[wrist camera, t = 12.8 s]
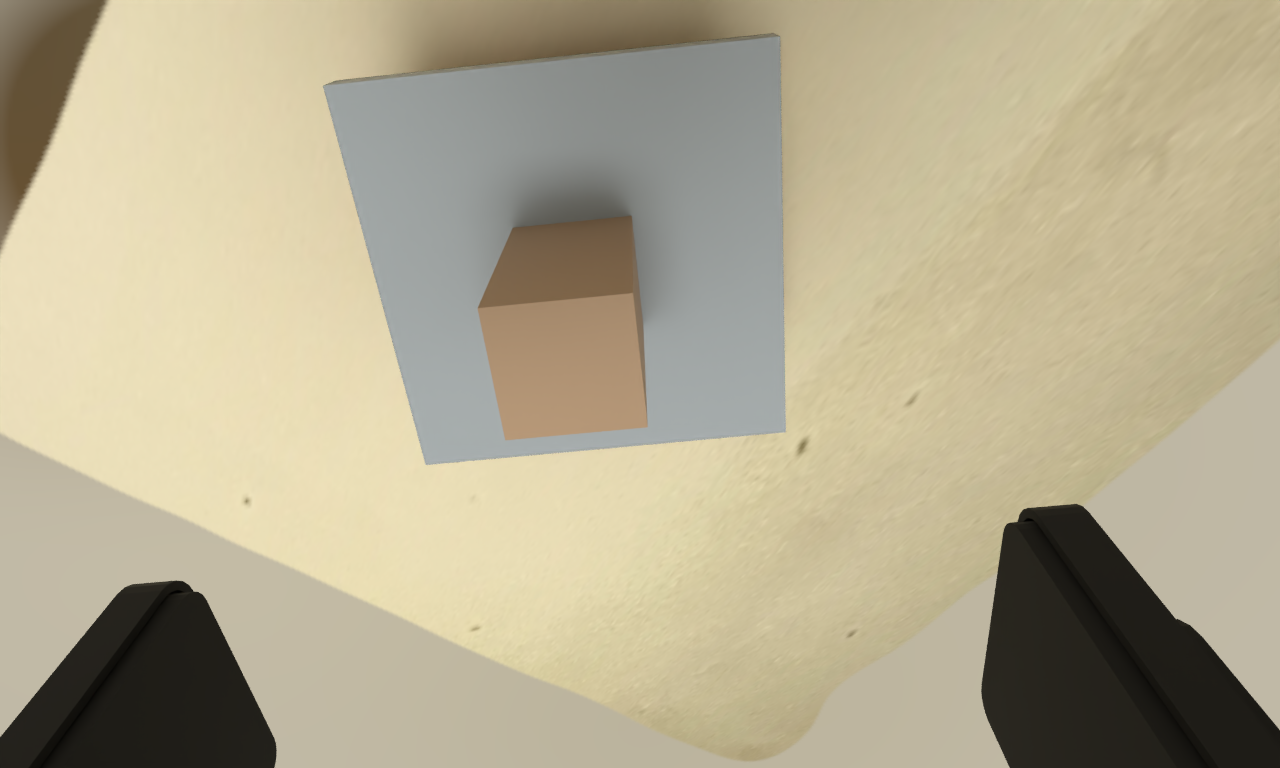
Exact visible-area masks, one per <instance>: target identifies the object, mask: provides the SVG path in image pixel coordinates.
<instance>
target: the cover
mask: <svg viewBox="0 0 1280 768" xmlns="http://www.w3.org/2000/svg"><path fill="white" fill-rule="evenodd" d="M323 88H324V91H325V95H326V99H327V102H328V106H329V110H330V113H331V117H332V121H333V125H334V128H335V132H336V136H337V139H338V143H339V147H340V150H341V154H342V158H343V161H344V165H345V169H346V172H347V176H348V180H349V183H350V187H351V191H352V195H353V198H354V202H355V206H356V209H357V213H358V217H359V220H360V224H361V228H362V231H363V235H364V239H365V242H366V246H367V250H368V253H369V257H370V261H371V265H372V268H373V272H374V276H375V279H376V283H377V287H378V290H379V294H380V298H381V301H382V305H383V309H384V312H385V316H386V320H387V324H388V327H389V331H390V335H391V338H392V342H393V346H394V349H395V353H396V357H397V360H398V364H399V368H400V371H401V375H402V379H403V382H404V386H405V390H406V394H407V397H408V401H409V405H410V408H411V412H412V416H413V419H414V423H415V427H416V430H417V434H418V438H419V441H420V445H421V449H422V453H423V456H424V460H425V464H426V465H430V464H441V463H452V462H463V461H474V460H485V459H496V458H507V457H518V456H529V455H540V454H551V453H562V452H573V451H584V450H595V449H606V448H617V447H628V446H639V445H650V444H661V443H672V442H683V441H694V440H705V439H716V438H727V437H738V436H749V435H760V434H771V433H782V432H786V423H785V351H784V279H783V208H782V136H781V64H780V36H778V35H776V34H774V33H771V34H762V35H753V36H744V37H735V38H725V39H716V40H707V41H698V42H688V43H679V44H670V45H661V46H651V47H642V48H633V49H624V50H614V51H605V52H596V53H587V54H577V55H568V56H559V57H550V58H540V59H531V60H522V61H513V62H504V63H494V64H485V65H476V66H467V67H457V68H448V69H439V70H430V71H420V72H411V73H402V74H393V75H383V76H374V77H365V78H356V79H346V80H337V81H334V82H331V83H329V84H326V85H324V86H323Z"/></svg>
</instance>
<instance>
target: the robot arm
mask: <svg viewBox="0 0 1280 768" xmlns="http://www.w3.org/2000/svg"><path fill="white" fill-rule="evenodd" d="M982 700H983V706H984V709H985V713H986V716H987V719H988V721H989V723H990V726H991V728H992V730H993V732H994V734H995V736H996V739H997V741H998V743H999V745H1000V747H1001V749H1002V752H1003V754H1004V756H1005V758H1006V760H1007V763H1008V765H1009V767H1010V768H1280V730H1279V729H1278V728H1277V726H1276V725H1275V724H1274V723H1273V721H1272V720H1271V719H1270V718H1269V717H1268V715H1267V714H1266V713H1265V712H1264V711H1263V709H1262V708H1261V707H1260V706H1259V705H1258V703H1257V702H1256V701H1255V700H1254V699H1253V697H1252V696H1251V695H1250V694H1249V693H1248V691H1247V690H1246V689H1245V688H1244V687H1243V685H1242V684H1241V683H1240V682H1239V681H1238V679H1237V678H1236V677H1235V676H1234V675H1233V674H1232V672H1231V671H1230V670H1229V668H1228V667H1227V666H1226V665H1225V664H1224V662H1223V661H1222V660H1221V659H1220V658H1219V656H1218V655H1217V654H1216V653H1215V652H1214V650H1213V649H1212V648H1211V647H1210V646H1209V645H1208V643H1207V642H1206V641H1205V640H1204V638H1203V637H1202V636H1200V634H1199V633H1198V632H1196V631H1195V630H1194V629H1193V628H1192V627H1191V626H1190V625H1188V624H1186V623H1184V622H1182V621H1180V620H1178V619H1175V618H1174V616H1173V615H1172V614H1171V613H1170V611H1169V610H1168V609H1167V608H1166V607H1165V605H1164V604H1163V603H1162V602H1161V600H1160V599H1159V598H1158V597H1157V596H1156V594H1155V593H1154V592H1153V591H1152V589H1151V588H1150V587H1149V586H1148V585H1147V583H1146V582H1145V581H1144V580H1143V578H1142V577H1141V576H1140V575H1139V573H1138V572H1137V571H1136V570H1135V569H1134V567H1133V566H1132V565H1131V564H1130V562H1129V561H1128V560H1127V559H1126V557H1125V556H1124V555H1123V554H1122V552H1121V551H1120V550H1119V549H1118V548H1117V546H1116V545H1115V544H1114V543H1113V541H1112V540H1111V539H1110V538H1109V537H1108V535H1107V534H1106V533H1105V532H1104V530H1103V529H1102V528H1101V527H1100V526H1099V524H1098V523H1097V522H1096V520H1095V519H1094V518H1093V517H1092V516H1091V514H1090V513H1089V512H1088V511H1087V510H1086V509H1085V508H1084V507H1083V506H1080V505H1077V504H1071V505H1059V506H1048V507H1036V508H1027V509H1024V510H1023V511H1022V512H1021V514H1020V515H1019V519H1018V522H1014V523H1008V524H1007V525H1006V526H1005V529H1004V532H1003V539H1002V546H1001V553H1000V560H999V567H998V574H997V581H996V588H995V595H994V602H993V609H992V616H991V623H990V630H989V637H988V644H987V651H986V659H985V665H984V672H983V679H982ZM275 762H276V743H275V739H274V737H273V735H272V733H271V731H270V729H269V727H268V725H267V722H266V720H265V719H264V717H263V714H262V712H261V710H260V708H259V706H258V704H257V702H256V700H255V698H254V696H253V694H252V692H251V690H250V688H249V686H248V684H247V682H246V680H245V678H244V676H243V674H242V672H241V670H240V667H239V666H238V663H237V661H236V660H235V657H234V655H233V653H232V651H231V650H230V647H229V645H228V643H227V641H226V639H225V637H224V635H223V633H222V631H221V629H220V627H219V625H218V623H217V621H216V619H215V617H214V615H213V612H212V611H211V609H210V607H209V604H208V603H207V600H206V599H205V597H204V596H203V595H202V594H200V593H199V592H193V590H192V589H191V587H190V586H189V585H188V584H186V583H185V582H183V581H168V582H156V583H144V584H133V585H130V586H127V587H125V588H124V589H123V590H121V591H120V592H119V593H118V594H117V595H116V597H115V598H114V599H113V600H112V601H111V603H110V604H109V605H108V606H107V608H106V609H105V610H104V611H103V612H102V614H101V615H100V616H99V617H98V618H97V620H96V621H95V622H94V623H93V625H92V626H91V627H90V628H89V629H88V631H87V632H86V633H85V635H84V636H83V637H82V638H81V639H80V640H79V642H78V643H77V644H76V645H75V647H74V648H73V649H72V650H71V651H70V653H69V654H68V655H67V656H66V658H65V659H64V660H63V661H62V662H61V664H60V665H59V666H58V667H57V669H56V670H55V671H54V672H53V673H52V675H51V676H50V677H49V678H48V680H47V681H46V682H45V683H44V685H43V686H42V687H41V688H40V689H39V691H38V692H37V693H36V694H35V696H34V697H33V698H32V699H31V700H30V702H29V703H28V704H27V705H26V706H25V708H24V709H23V710H22V712H21V713H20V714H19V715H18V716H17V718H16V719H15V720H14V721H13V722H12V724H11V725H10V726H9V727H8V728H7V730H6V731H5V732H4V733H3V735H2V736H1V737H0V768H274V767H275Z"/></svg>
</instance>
